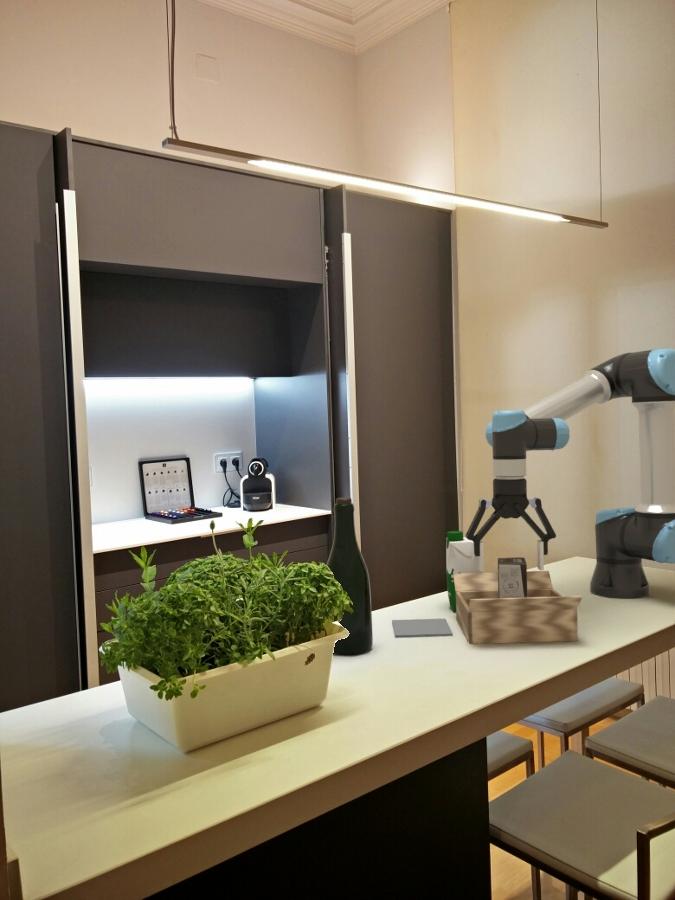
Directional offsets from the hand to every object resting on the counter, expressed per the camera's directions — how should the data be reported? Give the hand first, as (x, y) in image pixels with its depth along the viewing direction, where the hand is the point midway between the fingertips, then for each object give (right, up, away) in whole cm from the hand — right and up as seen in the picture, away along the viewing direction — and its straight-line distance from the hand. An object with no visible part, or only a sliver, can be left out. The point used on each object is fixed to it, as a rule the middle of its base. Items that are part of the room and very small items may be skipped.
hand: (510, 569), depth 173 cm
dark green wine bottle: (-37, -16, -10) cm, 42 cm away
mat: (-20, -15, +4) cm, 25 cm away
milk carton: (-7, -14, +21) cm, 26 cm away
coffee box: (+1, -14, +1) cm, 14 cm away
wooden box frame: (+1, -14, +1) cm, 14 cm away
